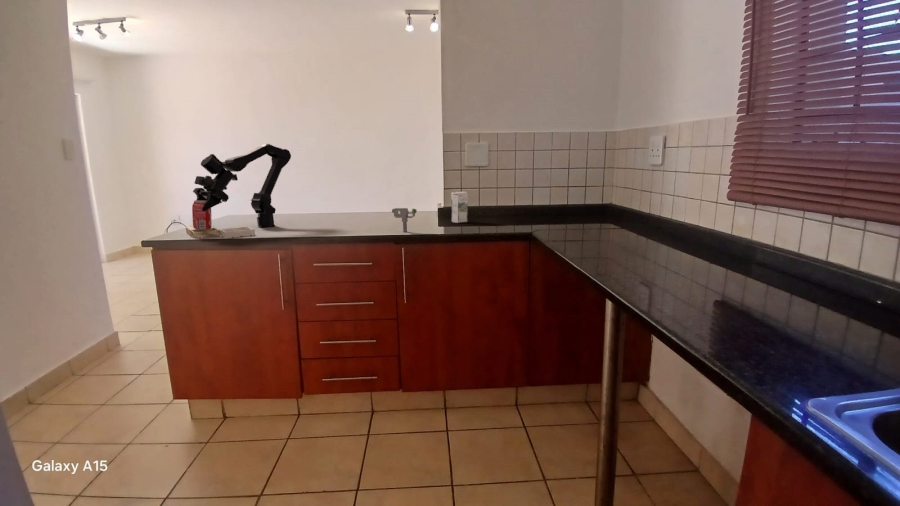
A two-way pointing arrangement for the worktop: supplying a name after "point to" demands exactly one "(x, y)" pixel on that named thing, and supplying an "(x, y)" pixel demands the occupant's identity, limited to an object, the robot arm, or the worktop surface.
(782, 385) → the worktop surface
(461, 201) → the syrup box
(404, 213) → the mechanical component
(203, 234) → the light wood shallow tray
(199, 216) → the soda can
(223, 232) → the frame
